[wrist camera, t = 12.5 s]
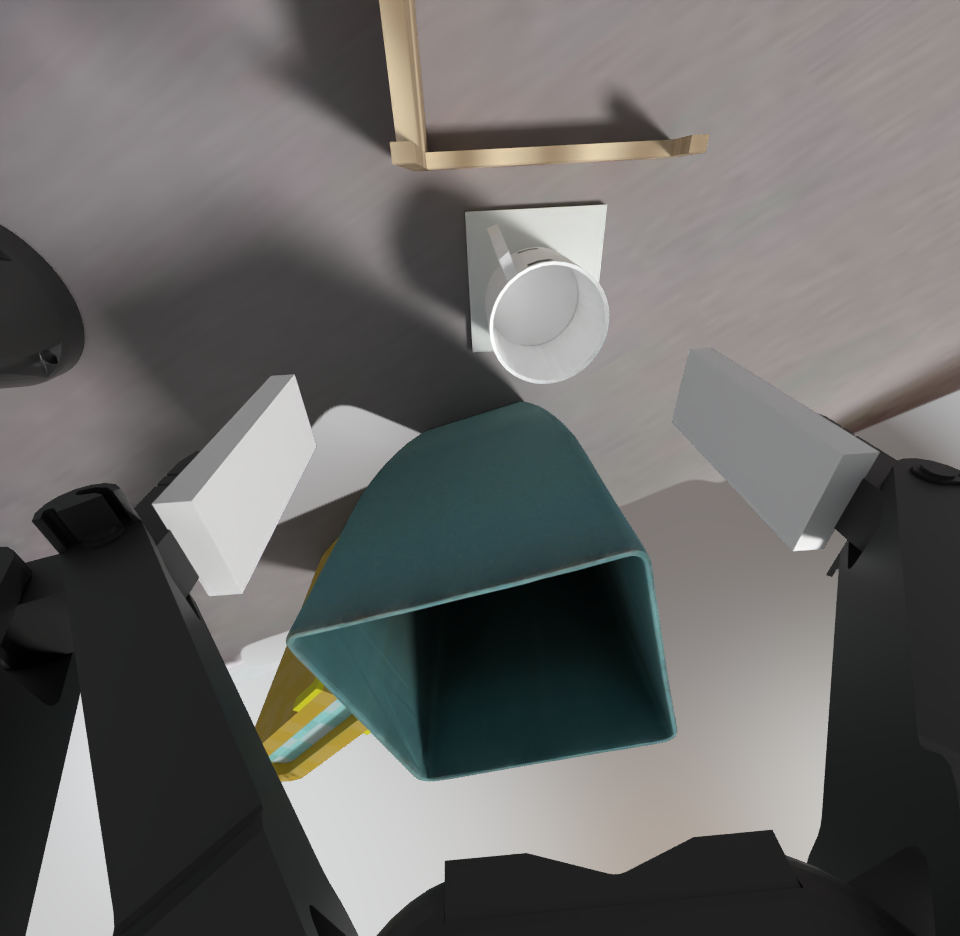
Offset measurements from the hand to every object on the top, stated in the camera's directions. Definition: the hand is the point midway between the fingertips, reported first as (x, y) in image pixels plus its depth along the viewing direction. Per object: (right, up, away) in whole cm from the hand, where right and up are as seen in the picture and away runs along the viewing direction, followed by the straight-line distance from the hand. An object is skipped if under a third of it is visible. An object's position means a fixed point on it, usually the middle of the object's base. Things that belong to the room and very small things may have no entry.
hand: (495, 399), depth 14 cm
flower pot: (0, -1, +35) cm, 36 cm away
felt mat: (+5, +15, +25) cm, 29 cm away
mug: (+4, +15, +24) cm, 29 cm away
